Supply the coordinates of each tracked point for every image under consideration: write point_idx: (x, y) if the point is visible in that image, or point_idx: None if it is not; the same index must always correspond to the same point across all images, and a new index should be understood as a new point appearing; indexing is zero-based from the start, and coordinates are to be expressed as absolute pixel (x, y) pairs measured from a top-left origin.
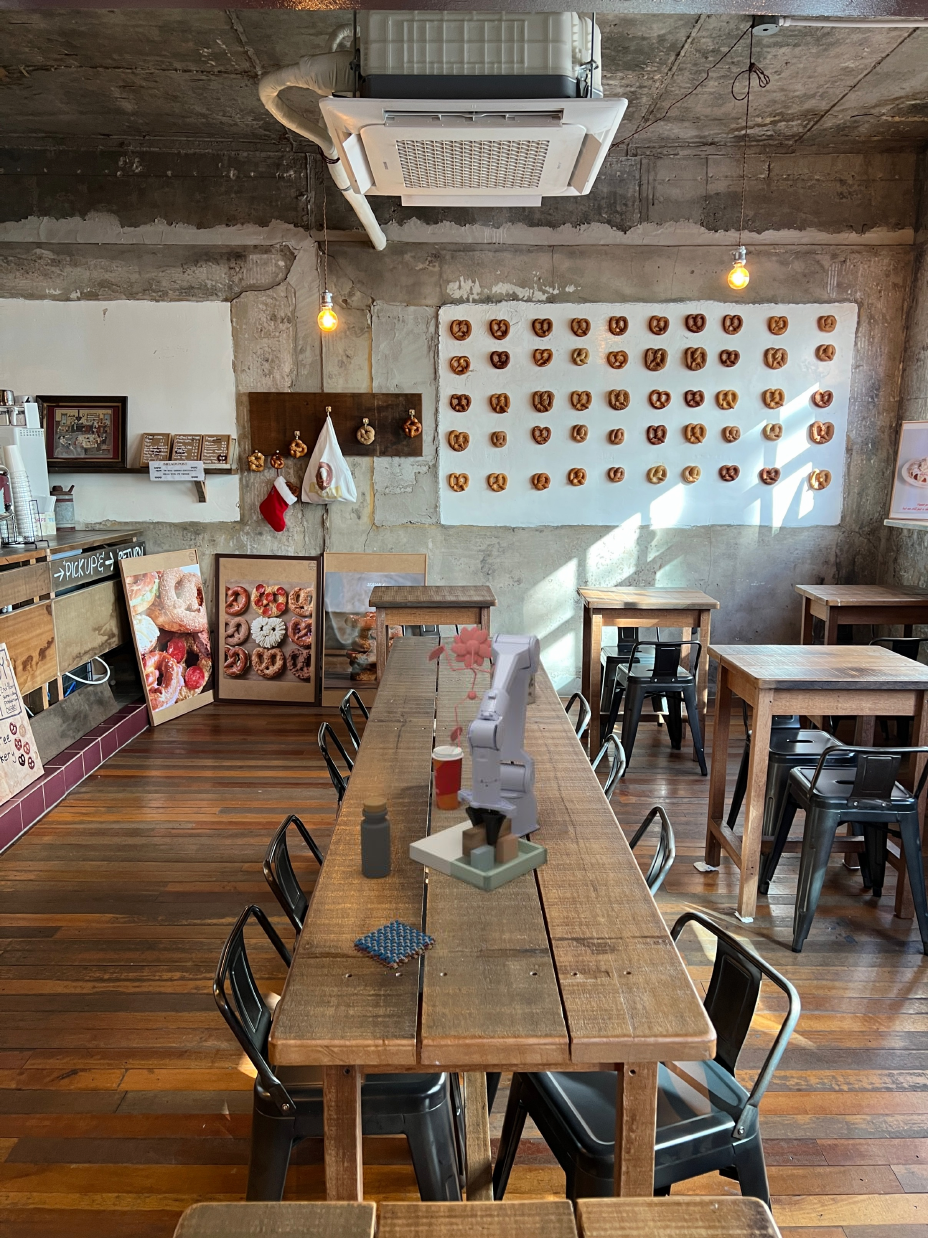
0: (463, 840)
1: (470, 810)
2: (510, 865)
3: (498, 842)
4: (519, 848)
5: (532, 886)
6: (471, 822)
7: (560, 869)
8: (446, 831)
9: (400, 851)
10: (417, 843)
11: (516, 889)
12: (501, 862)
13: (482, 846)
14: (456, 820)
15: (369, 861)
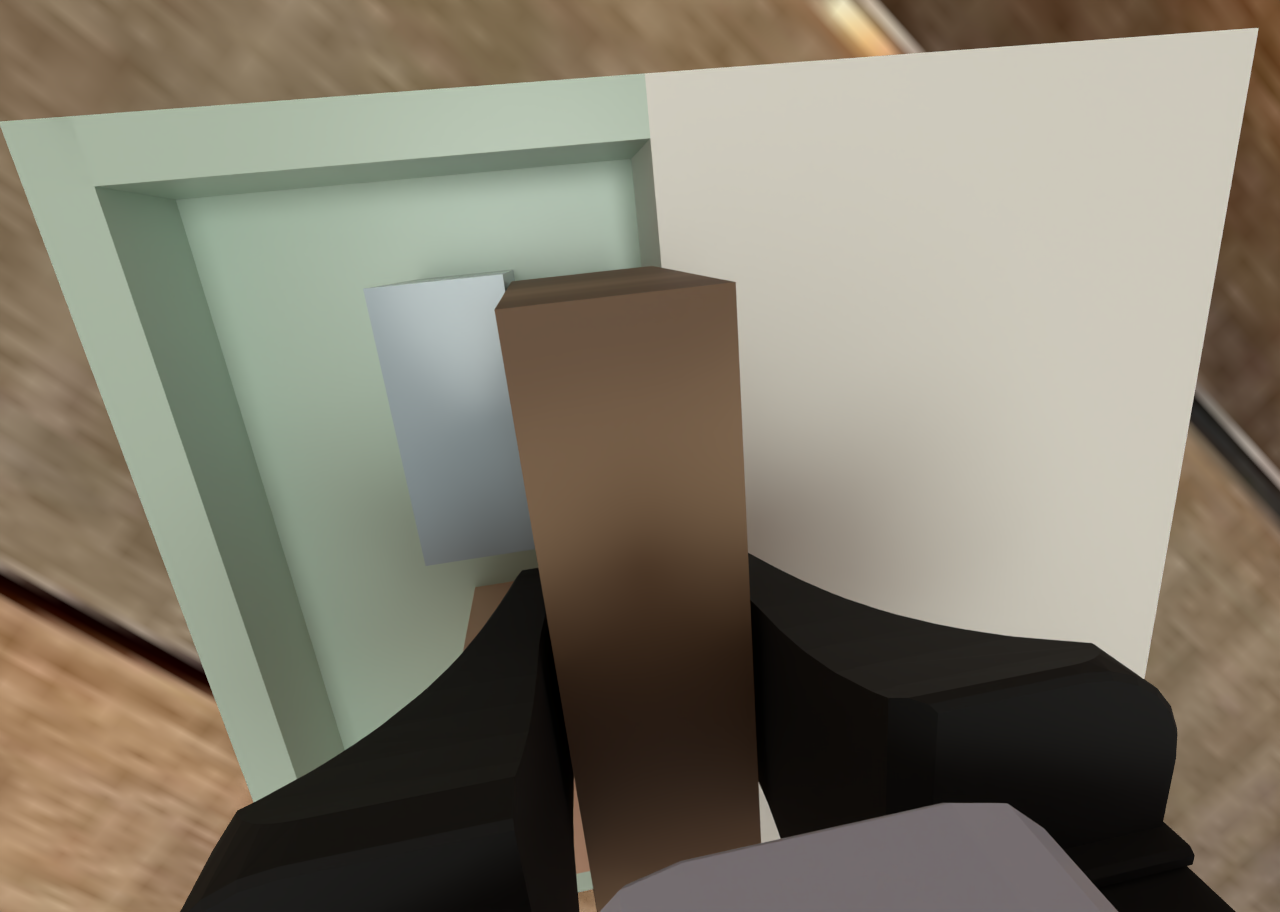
0: (669, 277)
1: (994, 732)
2: (158, 528)
3: None
4: None
5: (22, 545)
6: (864, 607)
7: (188, 853)
8: (1144, 509)
9: (1257, 101)
10: (1205, 114)
11: (37, 406)
12: (500, 586)
13: (520, 476)
14: (1223, 730)
15: None
